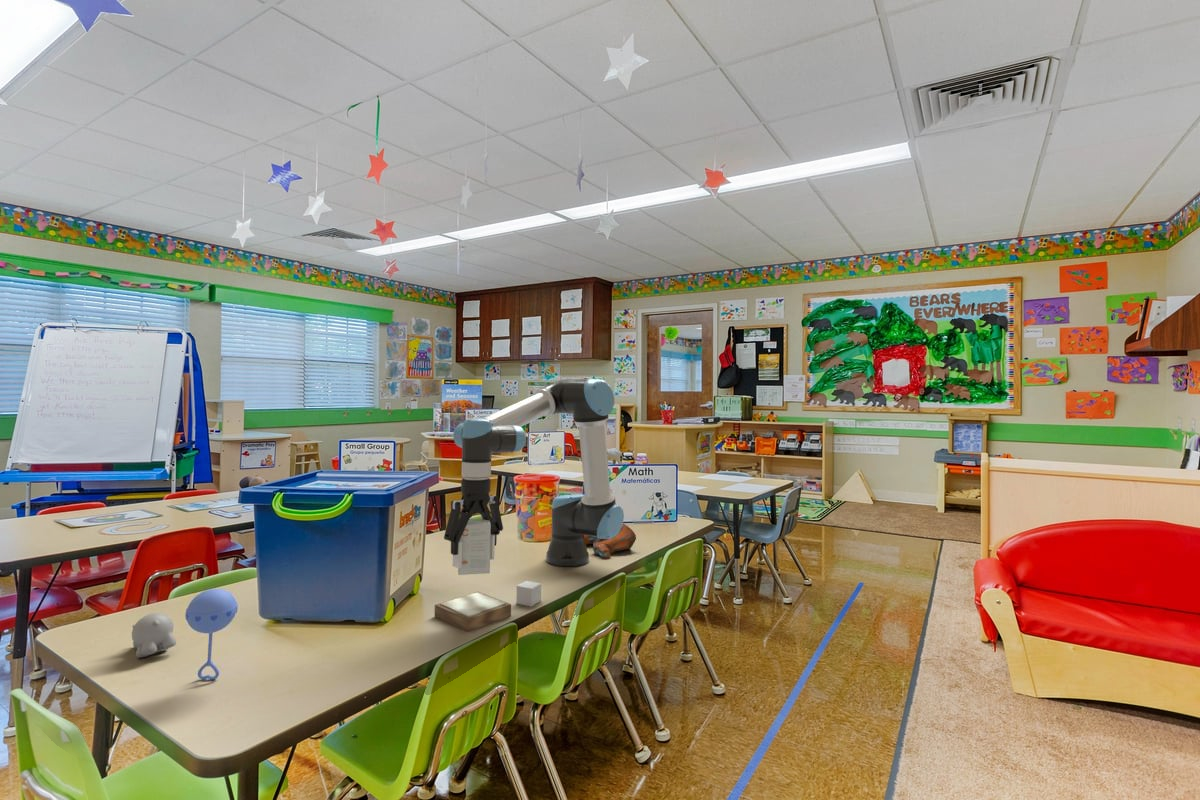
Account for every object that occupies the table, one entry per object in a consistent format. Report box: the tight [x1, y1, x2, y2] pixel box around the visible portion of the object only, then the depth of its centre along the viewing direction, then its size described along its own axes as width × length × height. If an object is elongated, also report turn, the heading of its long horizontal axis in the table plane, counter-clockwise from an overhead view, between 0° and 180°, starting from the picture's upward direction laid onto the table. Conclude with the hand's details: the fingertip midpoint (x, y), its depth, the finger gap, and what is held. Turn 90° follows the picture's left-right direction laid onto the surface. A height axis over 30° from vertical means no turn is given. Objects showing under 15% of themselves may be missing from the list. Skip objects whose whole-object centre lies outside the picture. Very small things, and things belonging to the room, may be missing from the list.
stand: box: [434, 591, 512, 632], centre depth 150 cm, size 14×14×3 cm
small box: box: [457, 518, 491, 576], centre depth 150 cm, size 8×6×13 cm
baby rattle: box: [184, 588, 239, 681], centre depth 114 cm, size 9×9×18 cm
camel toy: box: [584, 523, 637, 559], centre depth 219 cm, size 25×13×17 cm
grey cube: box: [515, 580, 542, 607], centre depth 161 cm, size 5×5×5 cm
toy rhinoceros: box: [131, 612, 177, 659], centre depth 126 cm, size 7×12×8 cm, turn 56°
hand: (473, 562), depth 150 cm, fingers closed on small box, 10 cm apart
